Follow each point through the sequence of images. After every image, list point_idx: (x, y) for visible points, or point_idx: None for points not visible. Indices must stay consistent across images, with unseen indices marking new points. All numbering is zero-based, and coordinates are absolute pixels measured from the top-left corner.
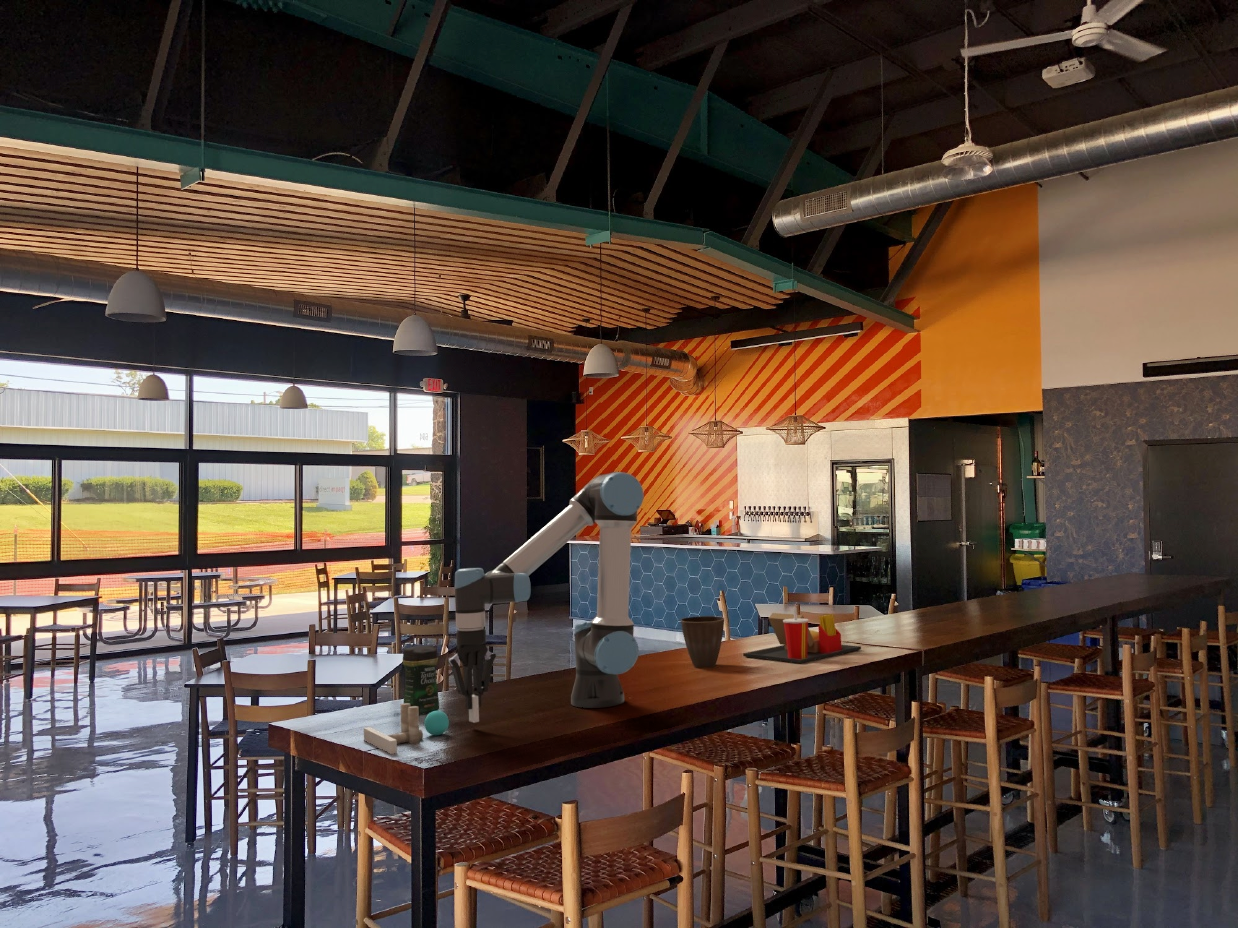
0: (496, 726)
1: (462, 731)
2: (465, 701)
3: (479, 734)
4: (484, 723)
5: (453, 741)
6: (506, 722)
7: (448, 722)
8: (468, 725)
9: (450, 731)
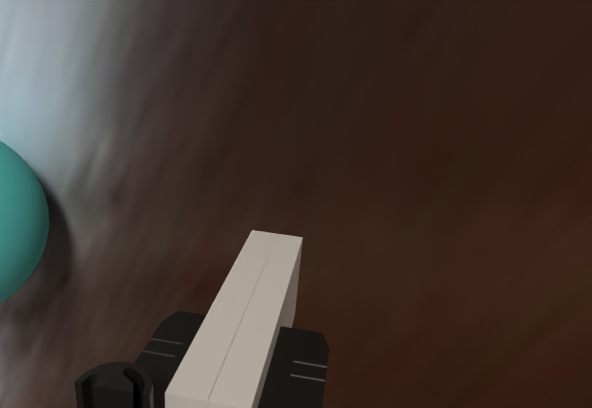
0: (434, 318)
1: (182, 243)
2: (135, 361)
3: None
4: (445, 164)
5: (42, 389)
6: (578, 282)
7: (19, 286)
8: (313, 114)
9: (116, 173)
